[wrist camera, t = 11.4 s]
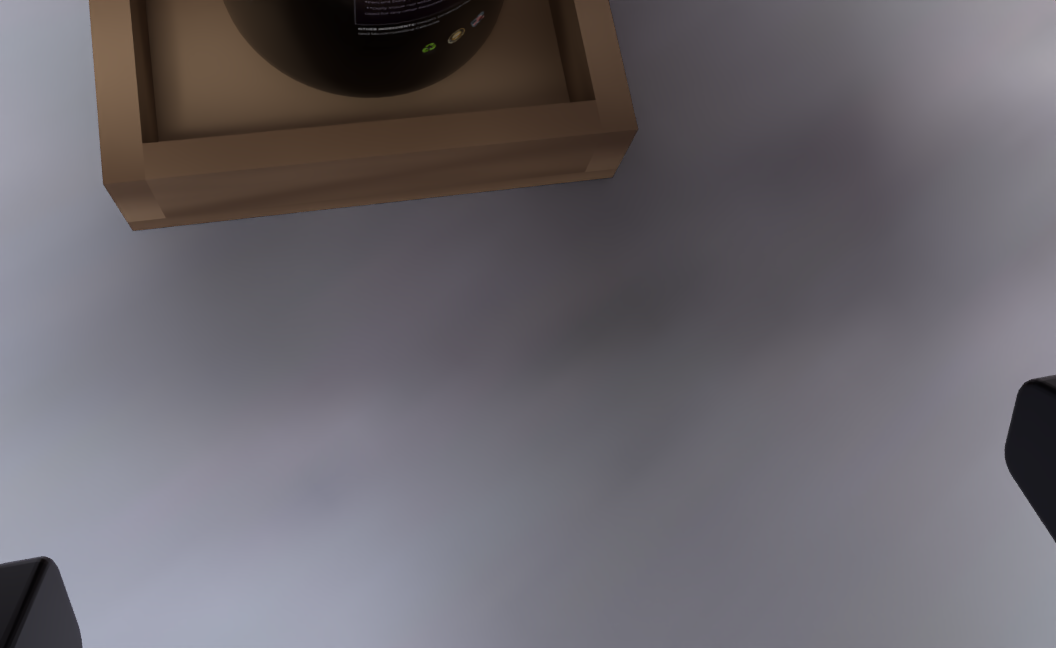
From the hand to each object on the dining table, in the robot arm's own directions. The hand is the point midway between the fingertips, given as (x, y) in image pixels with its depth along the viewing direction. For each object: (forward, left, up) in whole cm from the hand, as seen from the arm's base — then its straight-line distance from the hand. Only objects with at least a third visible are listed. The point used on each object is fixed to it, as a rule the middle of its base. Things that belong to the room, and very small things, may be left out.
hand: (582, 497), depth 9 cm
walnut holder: (+11, -9, -13) cm, 19 cm away
